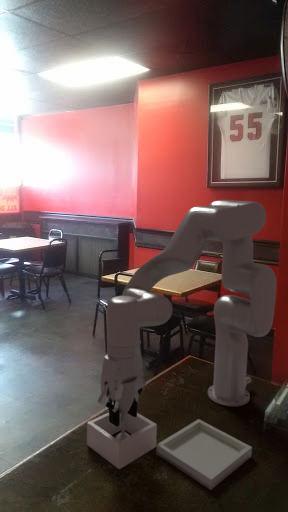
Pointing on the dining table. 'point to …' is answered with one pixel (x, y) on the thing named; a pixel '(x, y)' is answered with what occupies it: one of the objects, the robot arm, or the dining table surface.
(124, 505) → the dining table surface
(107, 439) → the sleeve
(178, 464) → the tray
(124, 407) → the chalice
